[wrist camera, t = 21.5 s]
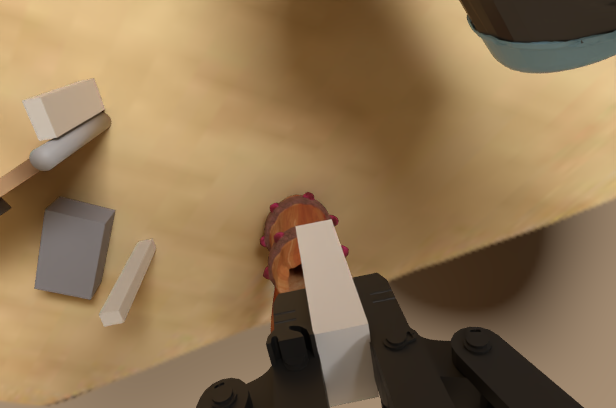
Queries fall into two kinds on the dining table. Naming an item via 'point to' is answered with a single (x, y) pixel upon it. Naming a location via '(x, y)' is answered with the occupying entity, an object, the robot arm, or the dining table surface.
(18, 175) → the door
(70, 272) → the block
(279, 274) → the mug
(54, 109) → the doorframe
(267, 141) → the dining table surface
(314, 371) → the robot arm
